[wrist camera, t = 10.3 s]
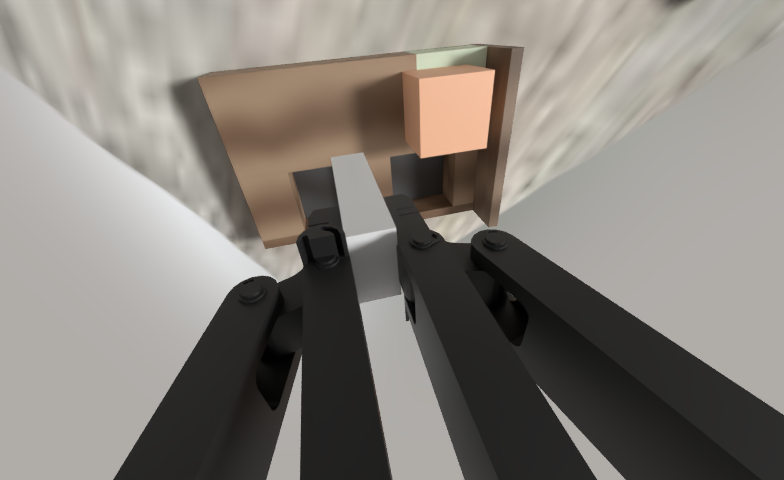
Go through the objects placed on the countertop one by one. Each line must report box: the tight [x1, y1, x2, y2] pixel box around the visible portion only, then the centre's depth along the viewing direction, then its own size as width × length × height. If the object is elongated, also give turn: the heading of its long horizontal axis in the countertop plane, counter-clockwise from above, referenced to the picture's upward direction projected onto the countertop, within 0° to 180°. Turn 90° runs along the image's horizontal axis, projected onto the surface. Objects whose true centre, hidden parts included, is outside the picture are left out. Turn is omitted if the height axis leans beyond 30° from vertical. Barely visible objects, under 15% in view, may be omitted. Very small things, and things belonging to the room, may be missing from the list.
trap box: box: [197, 44, 524, 249], centre depth 30 cm, size 16×25×8 cm, turn 95°
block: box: [402, 64, 495, 158], centre depth 26 cm, size 6×6×5 cm
